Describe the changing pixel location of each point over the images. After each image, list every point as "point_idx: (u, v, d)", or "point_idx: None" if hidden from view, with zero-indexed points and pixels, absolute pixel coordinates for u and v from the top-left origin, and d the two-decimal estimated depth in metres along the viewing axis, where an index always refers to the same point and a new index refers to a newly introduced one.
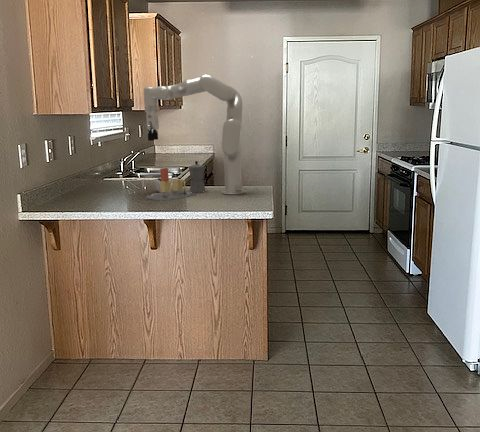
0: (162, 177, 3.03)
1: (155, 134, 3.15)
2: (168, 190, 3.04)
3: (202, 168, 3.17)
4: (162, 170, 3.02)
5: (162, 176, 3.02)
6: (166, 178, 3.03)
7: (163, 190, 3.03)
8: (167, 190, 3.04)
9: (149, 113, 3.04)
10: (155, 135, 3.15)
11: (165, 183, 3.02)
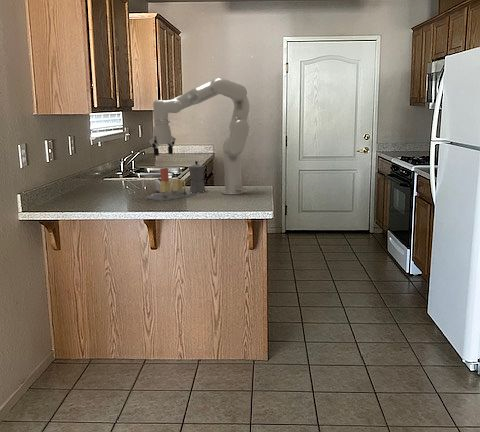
0: (162, 177, 3.03)
1: None
2: (168, 190, 3.04)
3: (202, 168, 3.17)
4: (162, 170, 3.02)
5: (162, 176, 3.02)
6: (166, 178, 3.03)
7: (163, 190, 3.03)
8: (167, 190, 3.04)
9: None
10: None
11: (165, 183, 3.02)
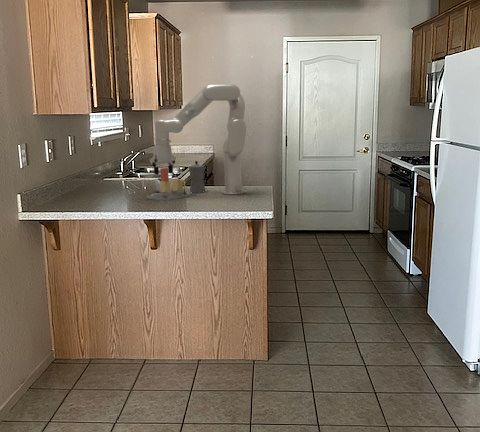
0: (162, 177, 3.03)
1: None
2: (168, 190, 3.04)
3: (202, 168, 3.17)
4: (162, 170, 3.02)
5: (162, 176, 3.02)
6: (166, 178, 3.03)
7: (163, 190, 3.03)
8: (167, 190, 3.04)
9: None
10: None
11: (165, 183, 3.02)
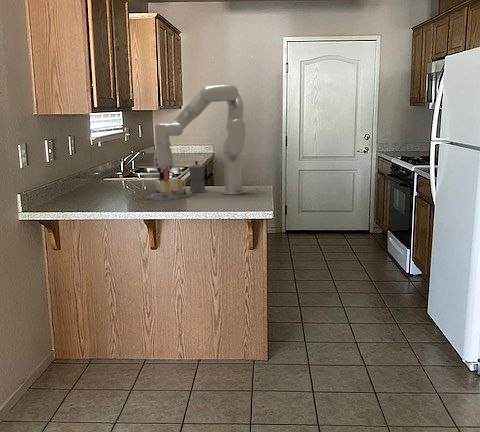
0: None
1: None
2: (168, 190, 3.04)
3: (202, 168, 3.17)
4: None
5: None
6: (166, 178, 3.03)
7: (163, 190, 3.03)
8: (167, 190, 3.04)
9: None
10: None
11: (165, 183, 3.02)
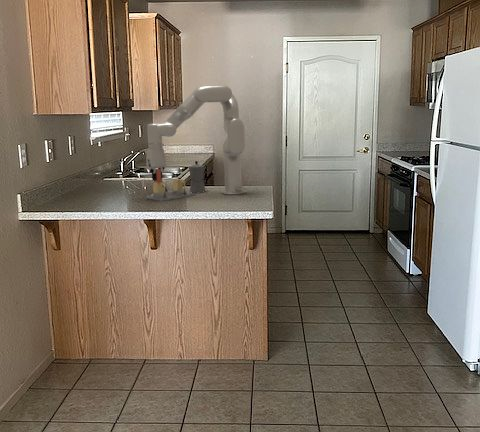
0: None
1: None
2: (161, 191, 3.01)
3: (202, 168, 3.17)
4: None
5: None
6: (159, 179, 3.00)
7: (156, 191, 3.00)
8: (160, 191, 3.00)
9: None
10: None
11: (158, 184, 2.99)
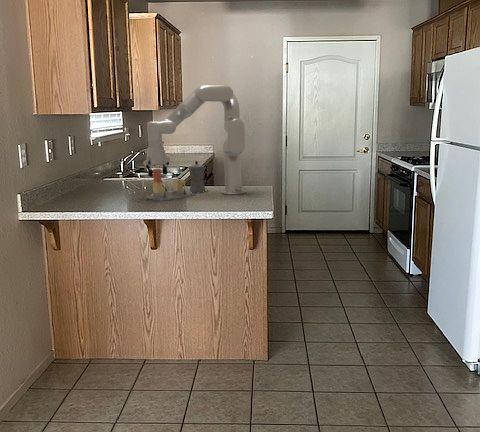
0: (155, 178, 2.99)
1: None
2: (161, 191, 3.01)
3: (202, 168, 3.17)
4: (155, 171, 2.98)
5: (155, 177, 2.99)
6: (159, 179, 3.00)
7: (156, 191, 3.00)
8: (160, 191, 3.00)
9: None
10: None
11: (158, 184, 2.99)
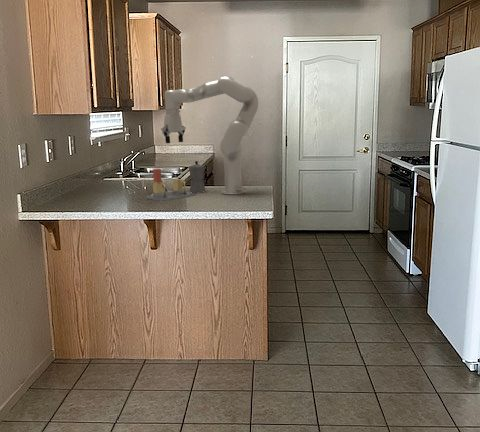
0: (155, 178, 2.99)
1: None
2: (161, 191, 3.01)
3: (202, 168, 3.17)
4: (155, 171, 2.98)
5: (155, 177, 2.99)
6: (159, 179, 3.00)
7: (156, 191, 3.00)
8: (160, 191, 3.00)
9: None
10: None
11: (158, 184, 2.99)
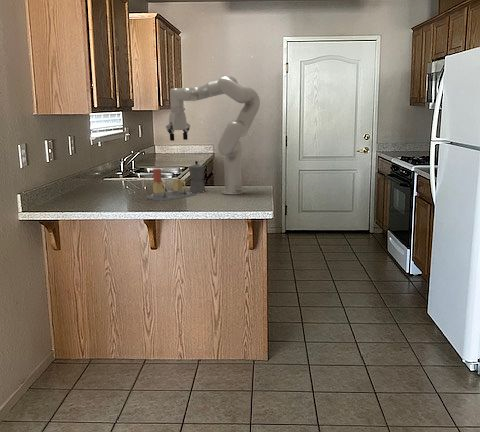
0: (155, 178, 2.99)
1: None
2: (161, 191, 3.01)
3: (202, 168, 3.17)
4: (155, 171, 2.98)
5: (155, 177, 2.99)
6: (159, 179, 3.00)
7: (156, 191, 3.00)
8: (160, 191, 3.00)
9: None
10: None
11: (158, 184, 2.99)
